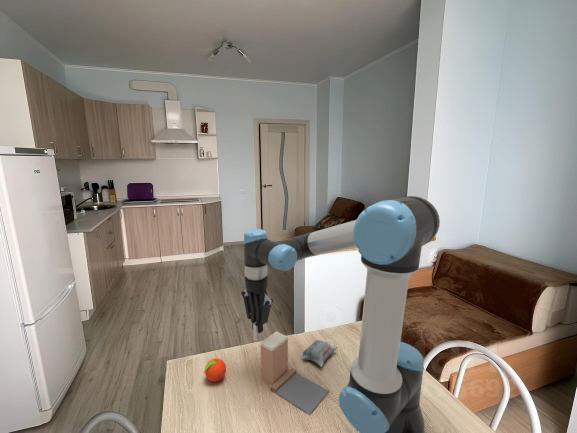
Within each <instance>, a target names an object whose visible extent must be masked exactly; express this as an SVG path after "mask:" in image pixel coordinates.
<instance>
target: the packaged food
mask: <svg viewBox="0 0 577 433" xmlns="http://www.w3.org/2000/svg"><path fill="white" fill-rule="evenodd" d="M336 350H338V346H334V345H331V344H329V343H328V341H325V340H319V339H316V340H314V341H313V343H311V344H310V345H309V346H308V347H307V348H306V349H304V350H303V352H302V360H309V361H311V362H313V363H315V364H317V365H318V366H319V367H320V368H322V367H324V363H325V361H326V360H327V359H328V358H329V357H330V356H331V355H332V354H333V353H335V351H336Z"/></svg>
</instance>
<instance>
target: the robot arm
mask: <svg viewBox="0 0 577 433" xmlns="http://www.w3.org/2000/svg"><path fill="white" fill-rule="evenodd" d="M440 224H441V220H440V215H439V212H438V210H437V209H436V207H435V205H433V203H431V201H428V200H427V199H425V198H423V197H421V196H416V195H415V196H414V195H413V196H412V195H410V196H409V195H408V196H403V197H399V198H394V199H389V200H388V199H385V200H381V201H378V202H376V203H373V204H372V205H370V206H368V207H365V209H363V210H362V212H360V214H359V215H358V217H357V218H356V219H355V220H350V221H347V222H344V223H341V224H337V225H334V226H330V227H327V228H323V229H320V230H316V231H313V232H308V233H304V234H301V235H297V236H295V237H291V238H287V239H283V240H280V241H273V240H270V239H268V232H267V231H266V230H264V229H261V228H260V229H259V228H258V229H257V228H256V229H248V230H246V231H245V232H244V234H243V243H242V244H243V253H244V254H243V256H244V284H245V286H244V287H245V290H243V291H241V293H240V294H241V297H242V298H243V302H244V307H245V313H246V318H247V319H248V320H250V322H251V328H252V329H251V330H252V332H253V337H252V338H253V341H254V342H255V343H257V342H259V341H260V340H262V339H263V332H264V325H265V324H267V323H268V321H269V318H270V317H269V316H270V312H271V306H272V304H273V303H274V299H273V298H270V297H269V296H268V291H267V288H268V286H269V282H268V281H269V280H268V266H269V267H271V268H273V269H275V270H280V271H283V272H287V271H290V270H291V269H293V267H295V265H296V263H297V262H298V261H300V260H304V259H306V258H311V257H315V256H319V255H326V254H330V253H336V252H341V251H346V250H351V249H356V248H358V254H360V262H361V264H362V265H363V266H364V267H365V268H366V269H367V270H366V280H365V289H364V290H365V291H364V300H363V310H362V317H361V325H360V326H361V328H360V338H359V347H358V348H359V349H358V356H357V358H355V359H354V360H353V361H352V362H351V365H350V371H349V380H348V384H347V385H346V386H344V387H343V388H342V390H341V391H340V392H339V394H338V395H339V396H338V402H339V407H340V409H341V412H342V413H343V415H344V417H345V418H346V419H347V421H348V423H349V424H350V425H351V426H352V427H353V428H354V429H355V430H356V431H357V432H359V433H425V418H424V416H423V412H422V408H421V405H420V402H421V393H422V392H421V391H422V384H423V375H424V370H425V366H424V356H423V355H422V354H421V352H420V351H419V350H418V349H417V348H415V347H414V346H412V345H411V344H409V343H405V342H403V341H401V340H402V332H403V327H404V326H403V325H404V318H405V310H406V303H407V296H408V288H409V282H410V276H411V275H414V274H415V273H417V272H418V271H419V268H420V262H421V257H422V256H421V255H422V248H423V246H426V245H427V244H429V243H431V241H432V240H434V238H435V237H436V235H437V234H438V232H439V229H440Z"/></svg>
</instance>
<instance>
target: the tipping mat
mask: <svg viewBox="0 0 577 433" xmlns="http://www.w3.org/2000/svg"><path fill="white" fill-rule="evenodd" d="M270 391H271V392H272V393H274V394H276V395H277V396H279V397H280V398H282V399H284V400H285V401H287V402H288V403H289V404H291V405H293V406H294V407H295V408H298V409H299V410H301V411H302V412H303V413H305V414H307V415H309V416H311V415H312V413H313V412H314V411H315V410H316V409H317V407H318V406H319V405H320V403H322V402H323V400H324V399H325V398H326V396H327V395H328V394H329V392H330V390H329V389H327V388H325V387H323V386H321V385H320V384H318V383H316V382H314V381H313V380H310V379H308V378H307V377H305V376H303V375H302V374H299V373H297V369H296V368H293V367H290V368H288V371H287V372H286V373H285V374H284V375H283V376H282V377H281V378H279V379H278V380H277V381H276V382H275V383H274V384H273V385H272V386H270Z"/></svg>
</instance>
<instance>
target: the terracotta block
mask: <svg viewBox="0 0 577 433" xmlns="http://www.w3.org/2000/svg"><path fill="white" fill-rule="evenodd" d="M288 338H289V337H288V335H285V334H284V333H281V332H279V331H275V332H274V333H272V334H271V335H269V336H268V337H266V338H265V339H264V340H263V341H261V342H260V372H261V373H260V374H261V375H260V378H261V379H260V380H261V381H262V382H264V383H265V384H267V385H268V386H270V387H271V386H272V385H273V384H274V383H275V382H276V381H277V380H278V379H279V378H281V377H282V376H283V375H284V374H285V373H286V372H287V371H288V370H289V339H288Z"/></svg>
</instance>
